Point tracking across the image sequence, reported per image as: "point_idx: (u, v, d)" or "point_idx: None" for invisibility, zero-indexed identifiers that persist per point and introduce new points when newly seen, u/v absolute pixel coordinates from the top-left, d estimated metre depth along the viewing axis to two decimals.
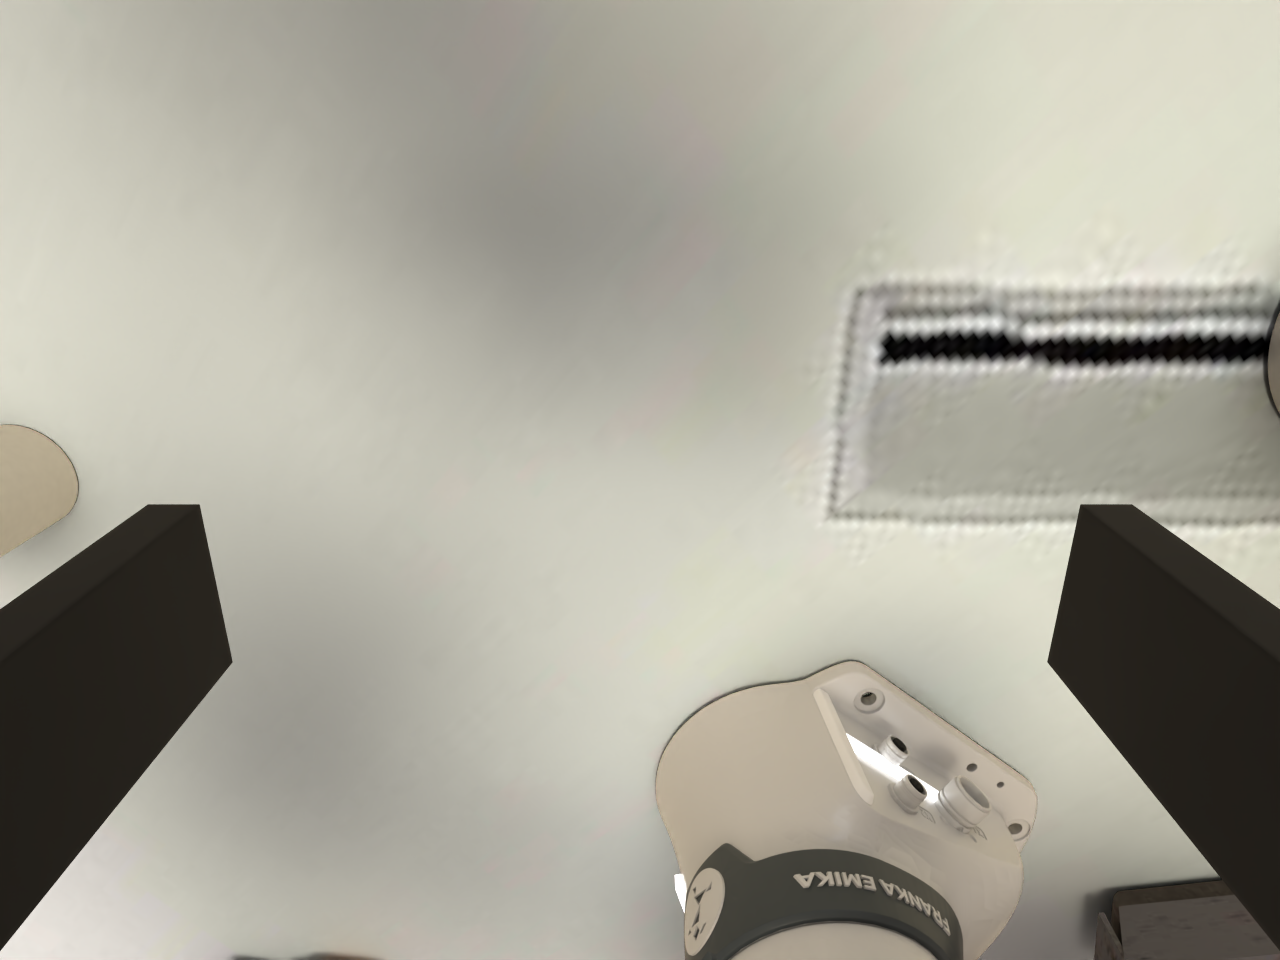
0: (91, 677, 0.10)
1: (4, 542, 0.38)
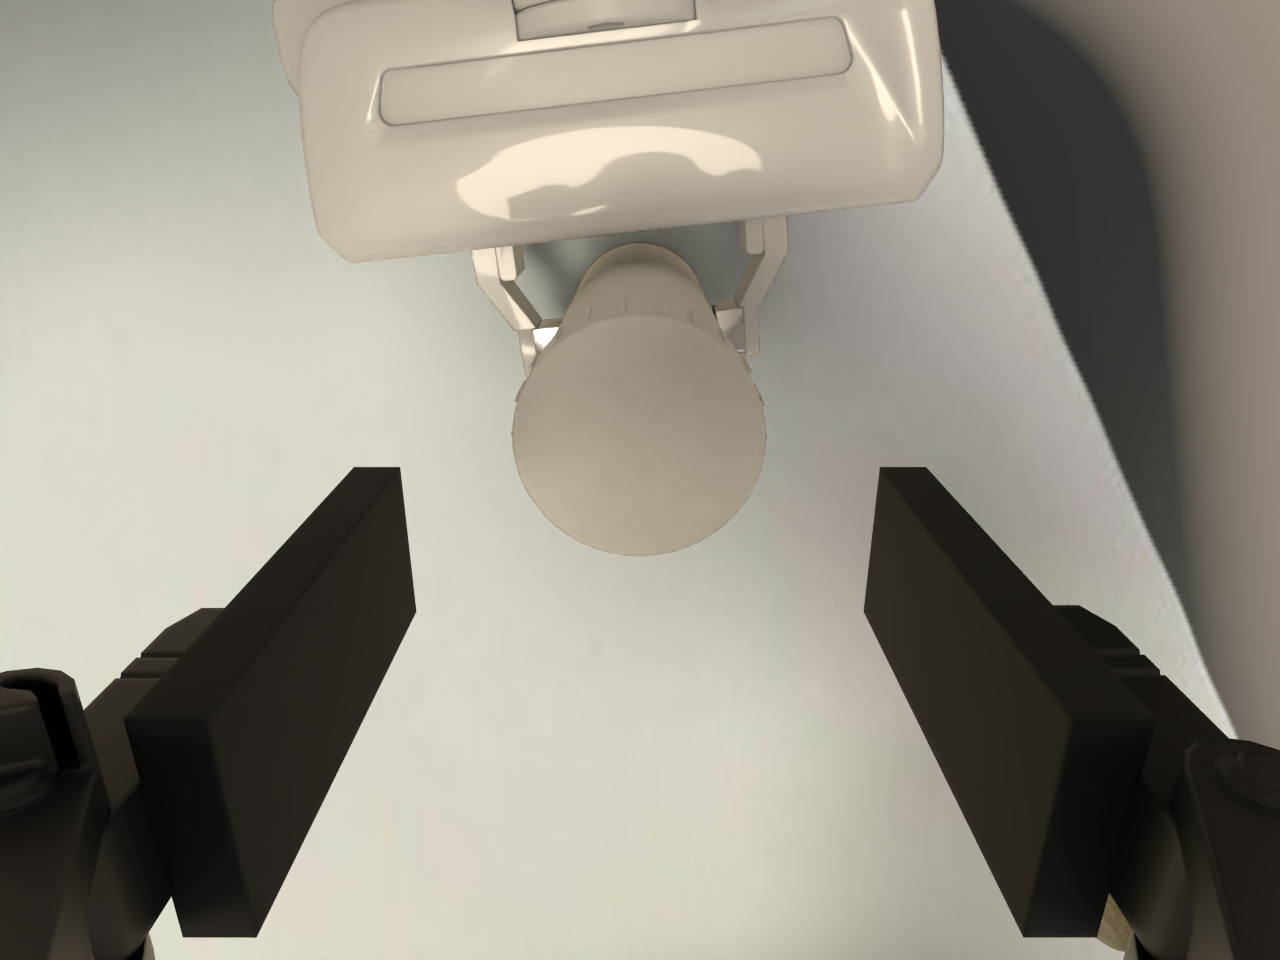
0: (348, 609, 0.11)
1: None
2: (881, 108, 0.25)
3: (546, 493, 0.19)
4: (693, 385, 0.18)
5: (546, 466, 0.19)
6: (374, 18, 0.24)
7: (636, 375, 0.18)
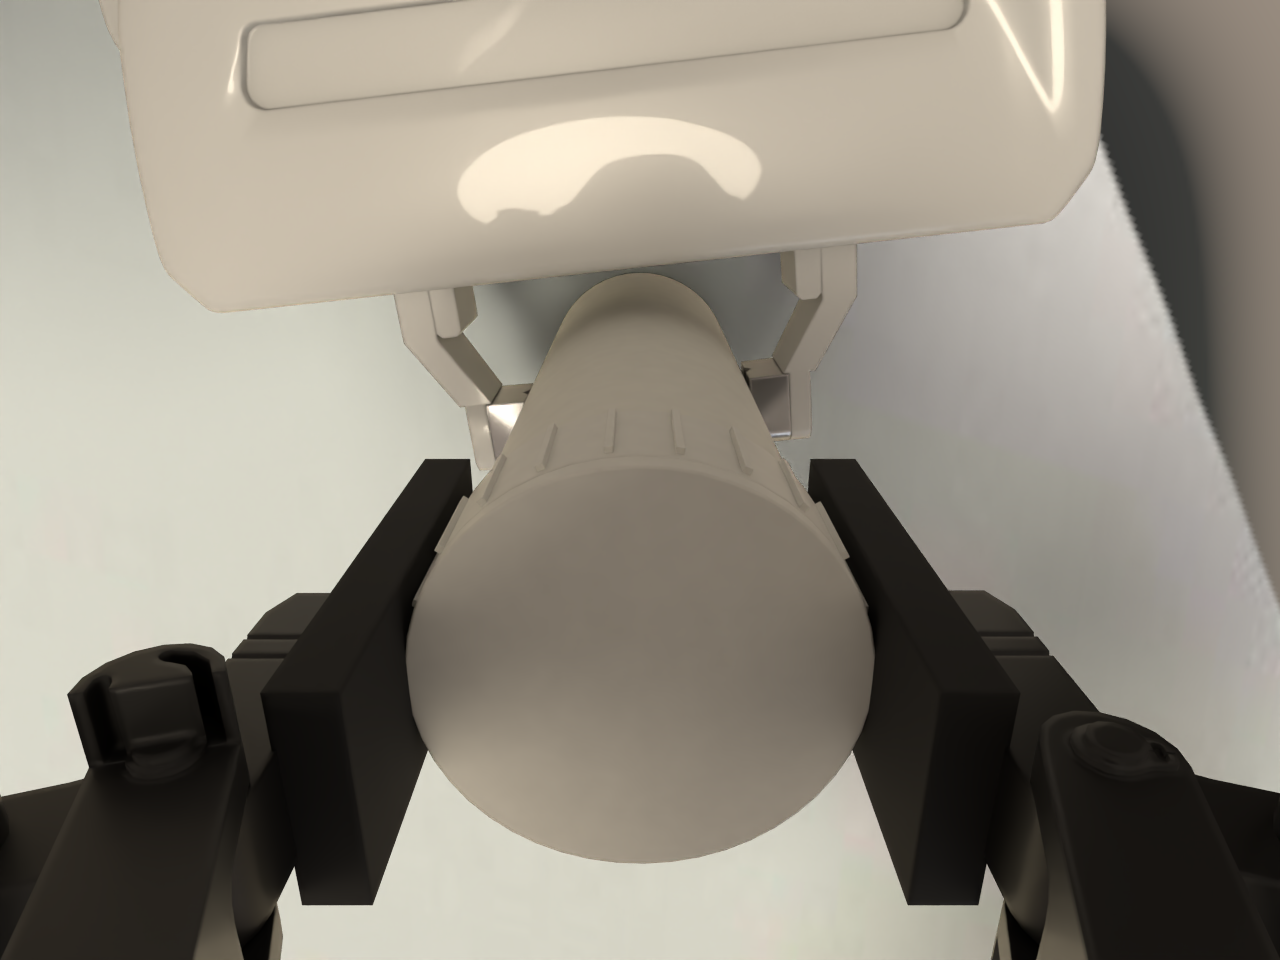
0: None
1: None
2: (1008, 81, 0.16)
3: (472, 767, 0.11)
4: (742, 589, 0.10)
5: (470, 724, 0.10)
6: None
7: (634, 572, 0.10)
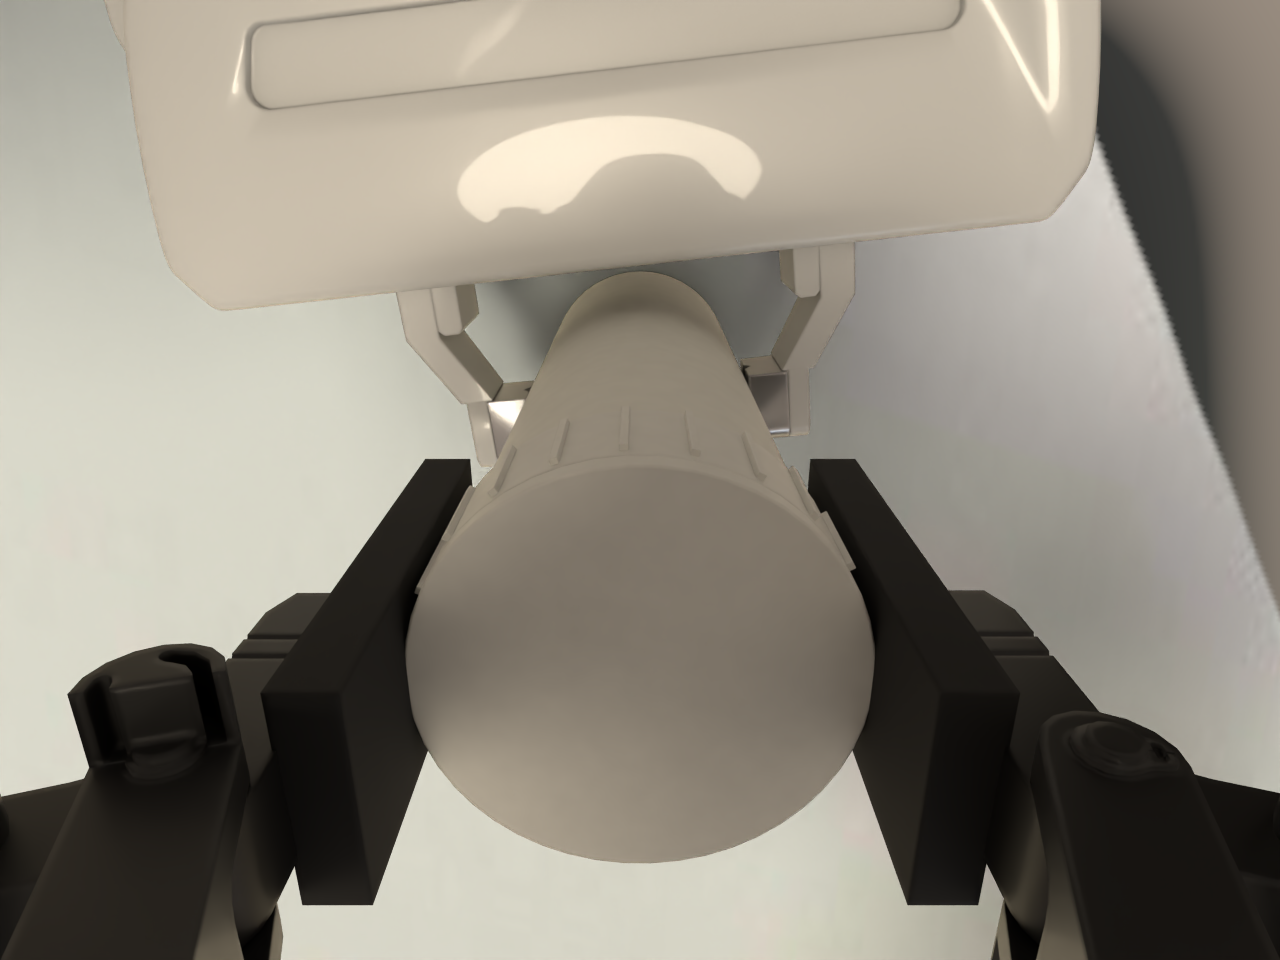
0: None
1: None
2: (1005, 81, 0.17)
3: (646, 842, 0.11)
4: (586, 562, 0.10)
5: (602, 822, 0.11)
6: None
7: (522, 637, 0.10)
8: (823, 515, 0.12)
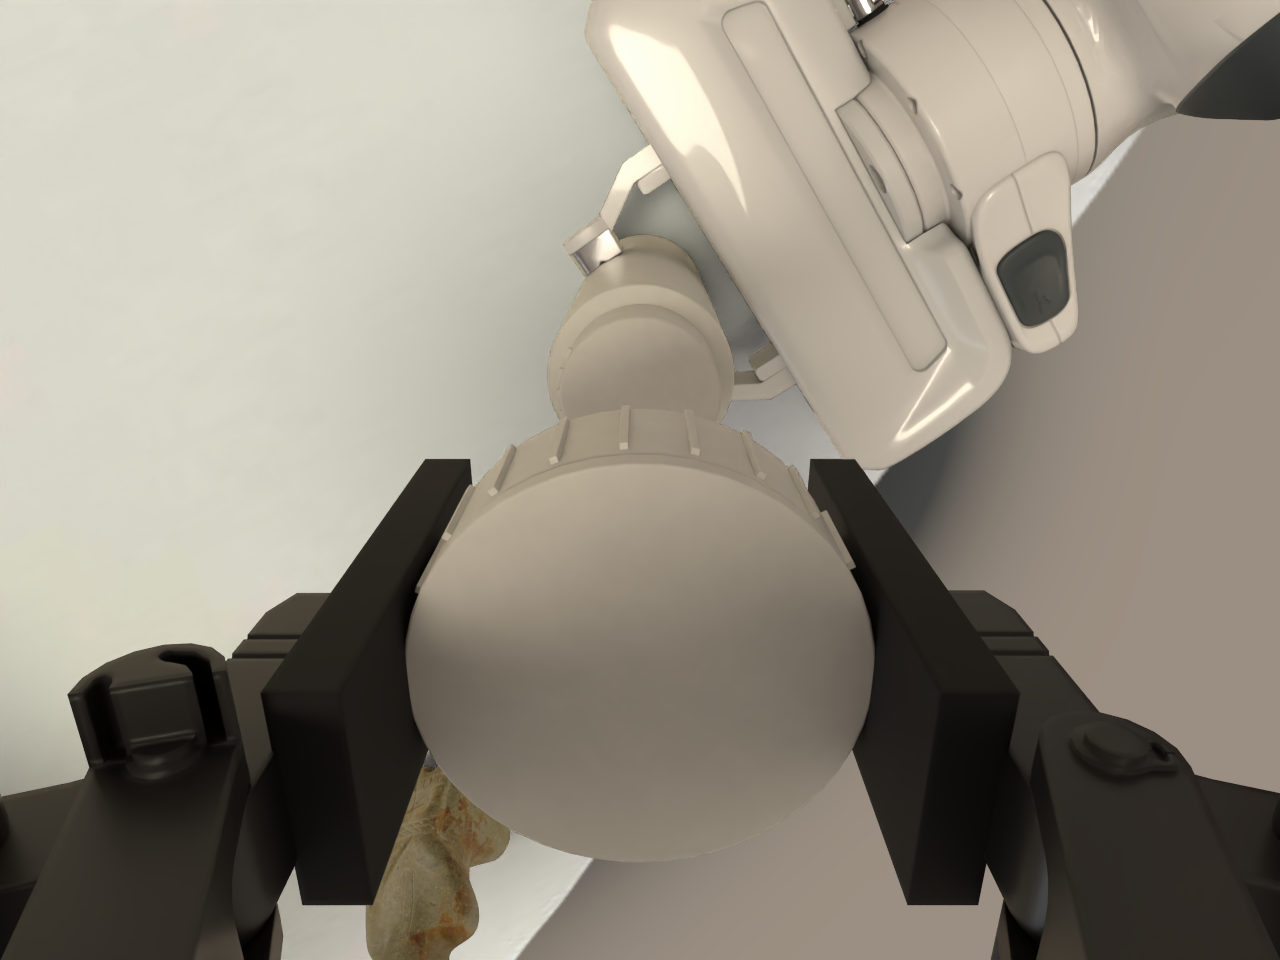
0: None
1: None
2: (901, 408, 0.32)
3: (646, 840, 0.11)
4: (587, 560, 0.10)
5: (602, 821, 0.11)
6: None
7: (522, 636, 0.10)
8: (823, 514, 0.12)
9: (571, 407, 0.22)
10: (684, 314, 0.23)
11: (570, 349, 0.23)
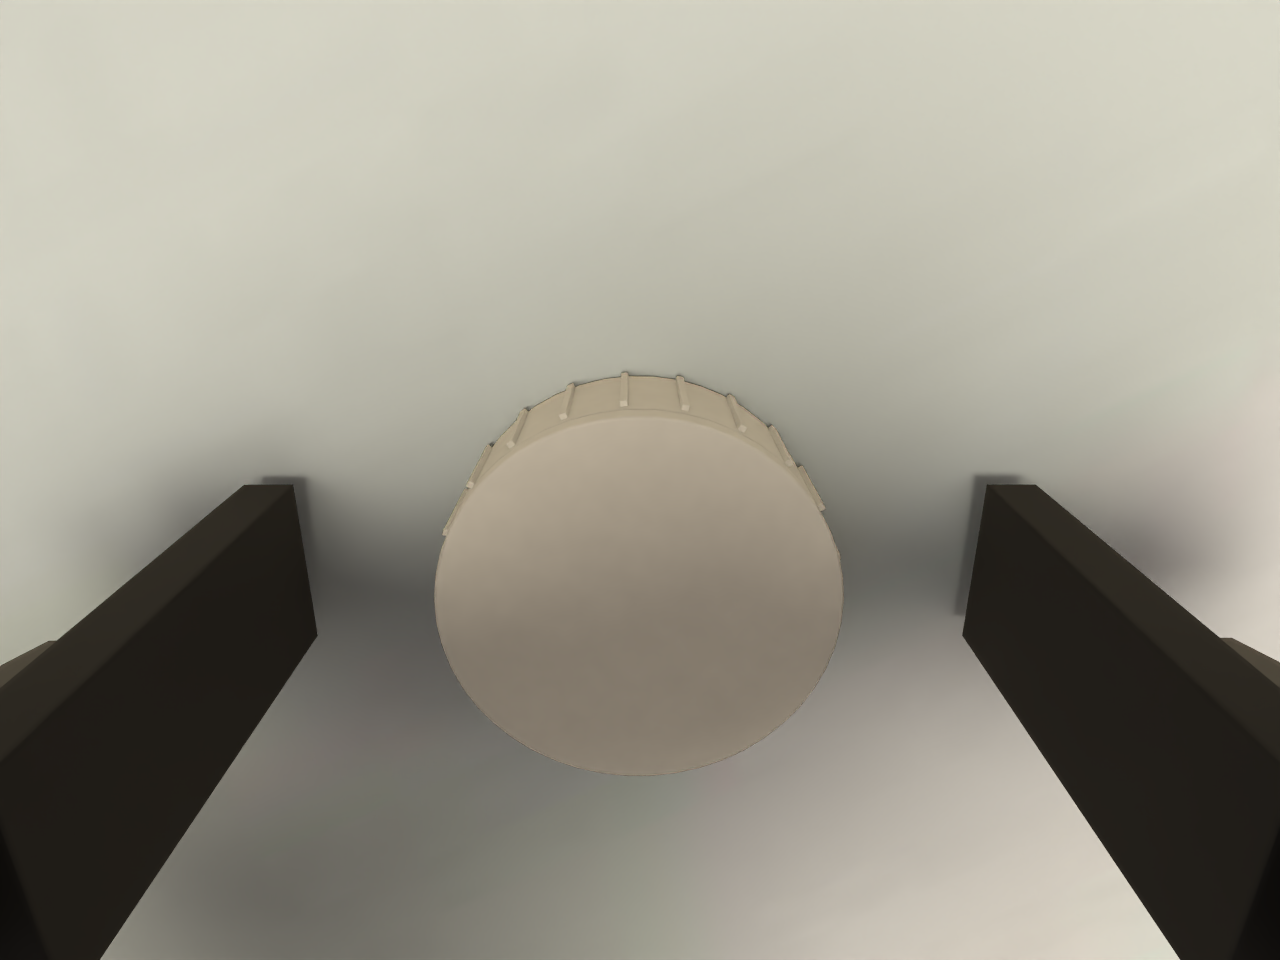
0: (213, 641, 0.10)
1: None
2: None
3: (646, 755, 0.13)
4: (592, 502, 0.11)
5: (607, 738, 0.13)
6: None
7: (536, 570, 0.11)
8: (799, 468, 0.13)
9: None
10: None
11: None
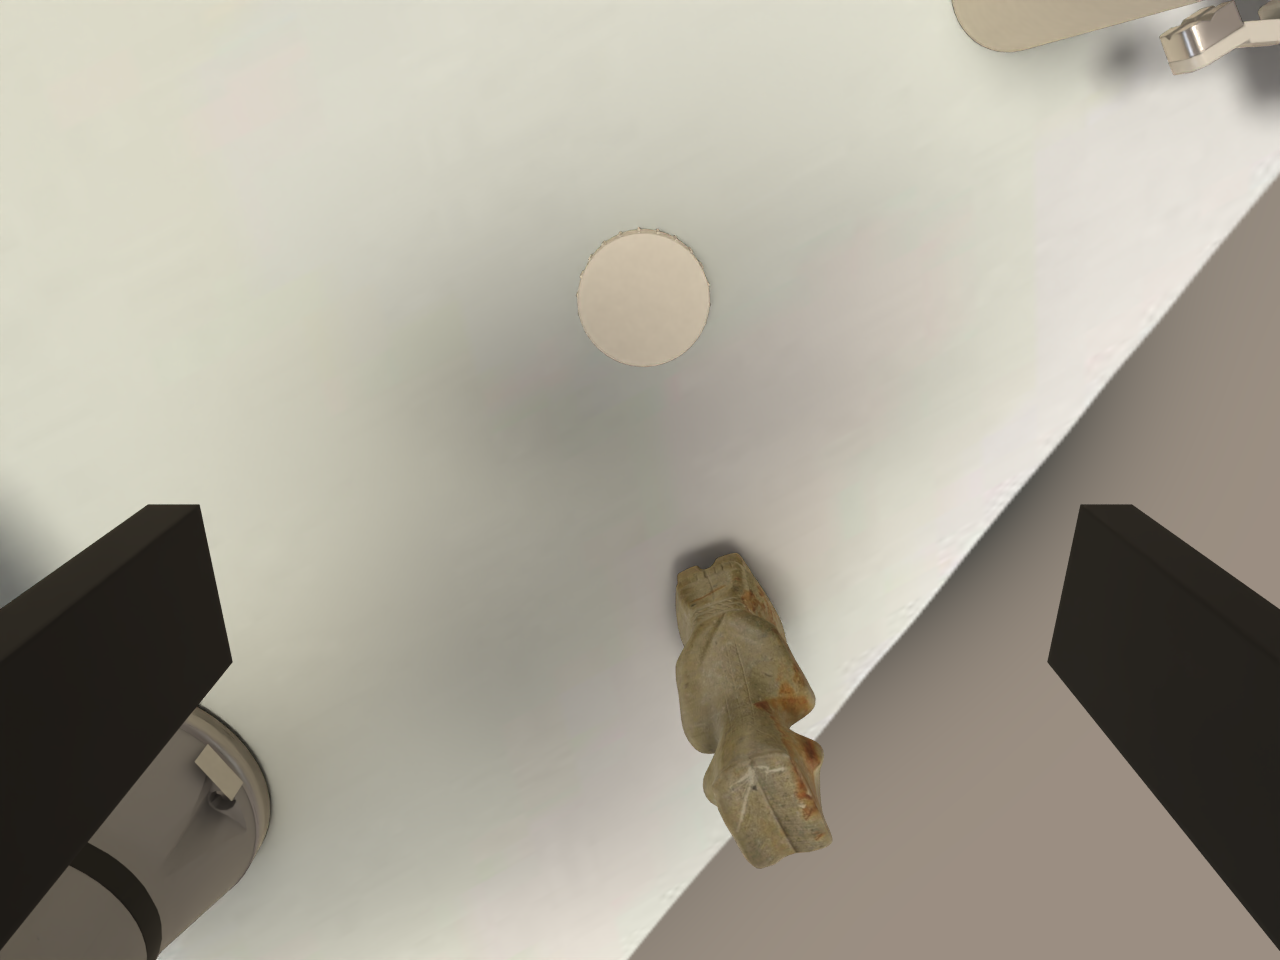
0: (91, 677, 0.10)
1: None
2: None
3: (645, 358, 0.37)
4: (629, 262, 0.36)
5: (632, 350, 0.37)
6: None
7: (610, 286, 0.36)
8: (699, 262, 0.38)
9: None
10: None
11: None
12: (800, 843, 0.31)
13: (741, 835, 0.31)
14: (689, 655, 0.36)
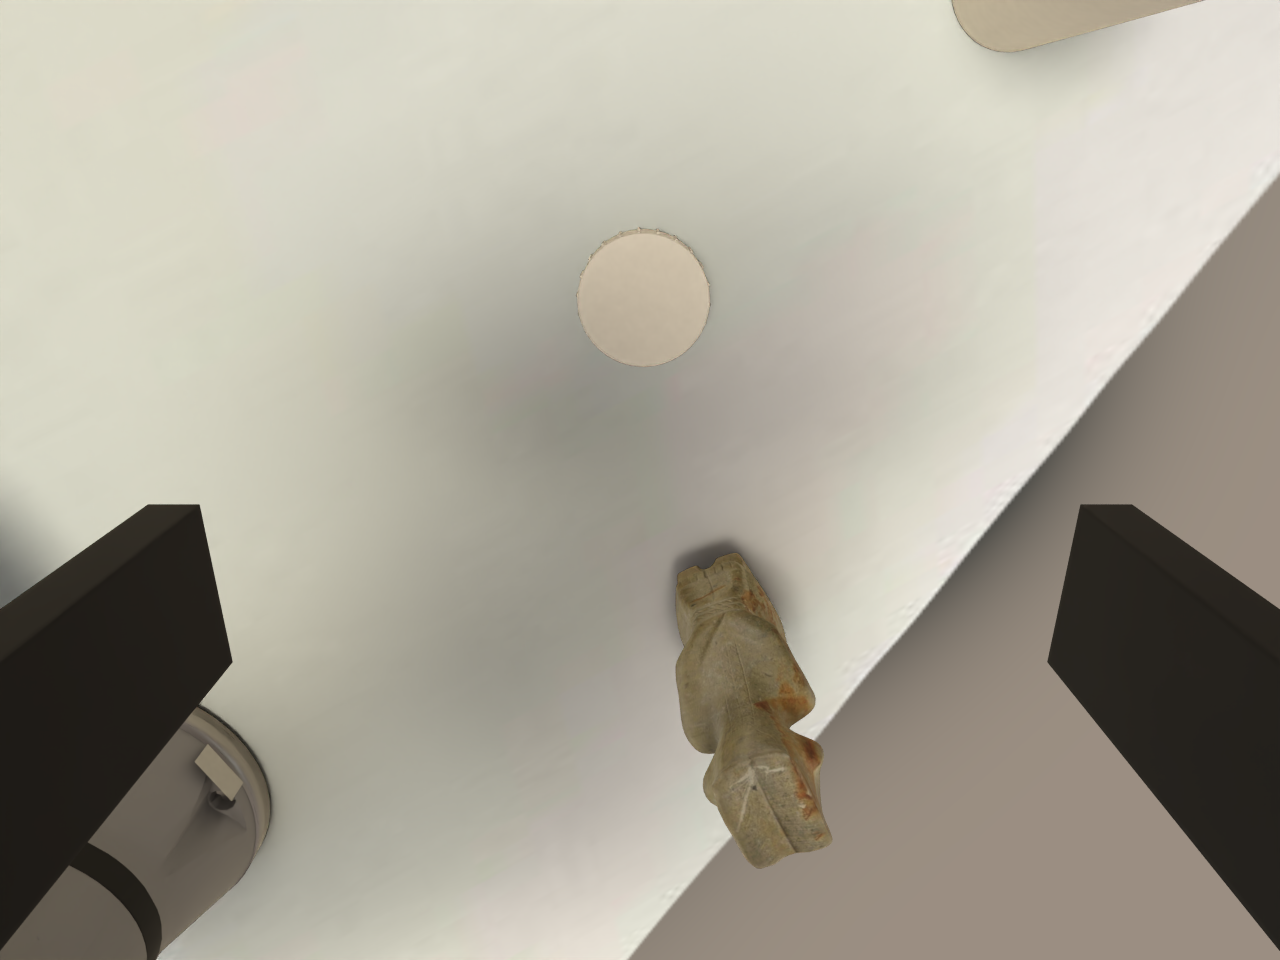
0: (91, 677, 0.10)
1: None
2: None
3: (645, 358, 0.37)
4: (629, 262, 0.36)
5: (632, 350, 0.37)
6: None
7: (610, 286, 0.36)
8: (699, 262, 0.38)
9: None
10: None
11: None
12: (800, 843, 0.31)
13: (741, 835, 0.31)
14: (689, 655, 0.36)
